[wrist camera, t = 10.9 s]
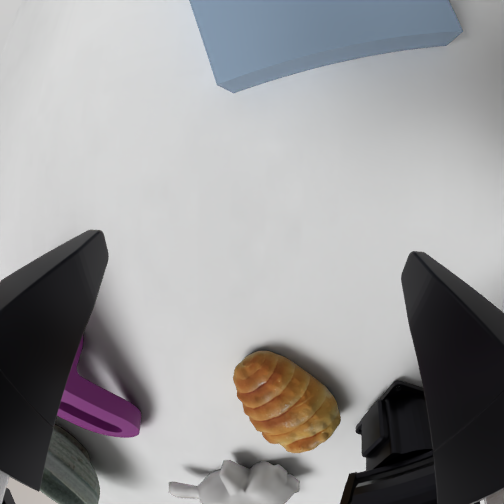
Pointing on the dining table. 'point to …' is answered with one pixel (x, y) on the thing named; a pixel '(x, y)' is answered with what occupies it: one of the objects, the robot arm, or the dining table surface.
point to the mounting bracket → (97, 406)
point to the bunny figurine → (241, 485)
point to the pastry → (285, 402)
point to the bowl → (69, 471)
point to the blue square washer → (312, 34)
